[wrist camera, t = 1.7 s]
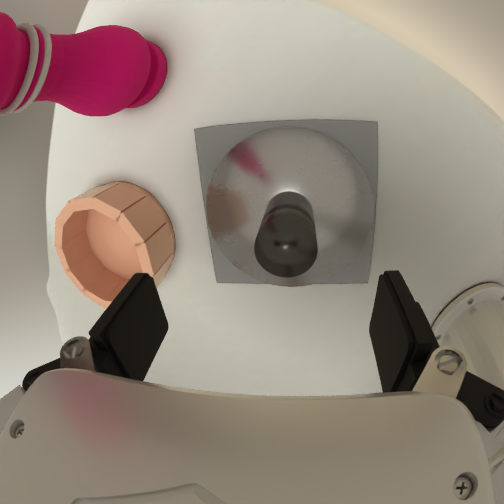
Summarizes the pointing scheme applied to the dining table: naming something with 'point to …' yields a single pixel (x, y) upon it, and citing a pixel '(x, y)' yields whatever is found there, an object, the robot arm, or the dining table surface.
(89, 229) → the bowl
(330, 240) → the lid
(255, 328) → the dining table surface
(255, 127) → the mat
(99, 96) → the pepper mill
